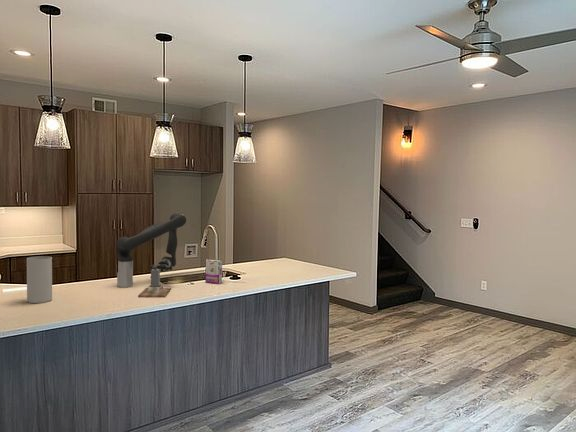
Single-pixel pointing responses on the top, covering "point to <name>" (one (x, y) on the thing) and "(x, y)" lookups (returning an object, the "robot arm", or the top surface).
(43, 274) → the cylinder vase
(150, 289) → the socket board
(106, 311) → the top surface
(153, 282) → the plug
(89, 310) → the top surface
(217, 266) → the candy bar box
